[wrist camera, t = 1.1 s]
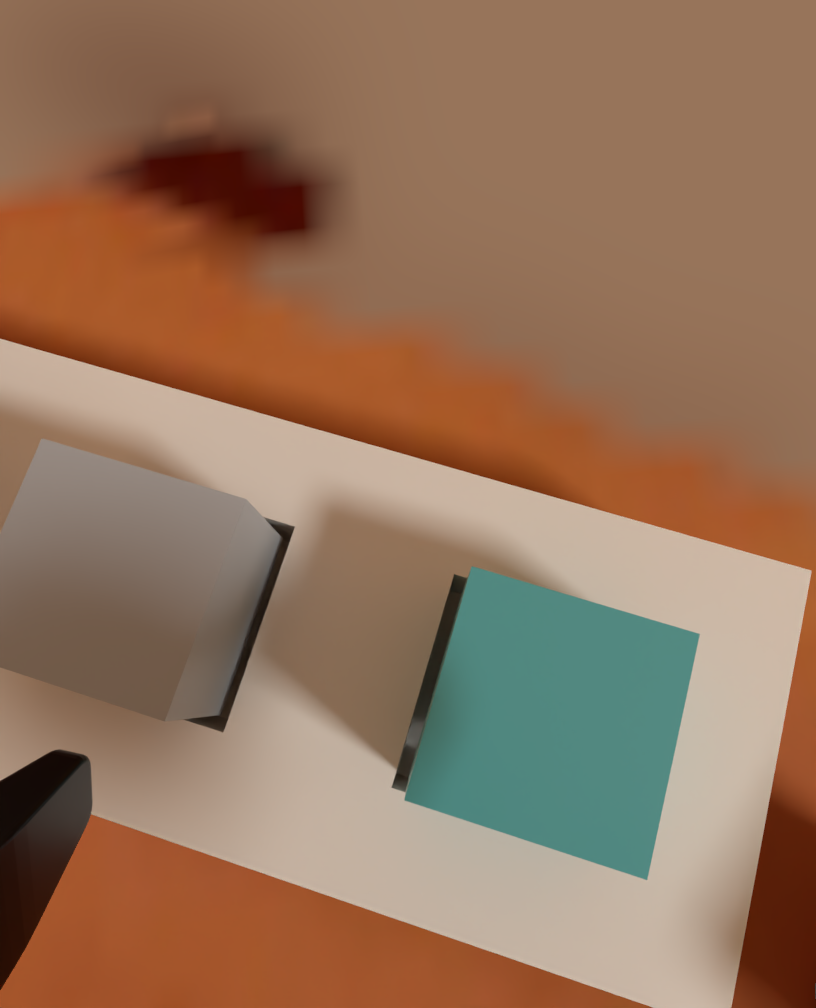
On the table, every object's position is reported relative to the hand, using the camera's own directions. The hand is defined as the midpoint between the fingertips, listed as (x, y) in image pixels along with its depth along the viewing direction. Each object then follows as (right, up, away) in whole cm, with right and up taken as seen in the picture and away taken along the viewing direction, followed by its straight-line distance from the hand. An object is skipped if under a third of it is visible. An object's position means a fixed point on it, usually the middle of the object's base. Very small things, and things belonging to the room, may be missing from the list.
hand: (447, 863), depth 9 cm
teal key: (+2, -1, +9) cm, 9 cm away
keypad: (-6, +1, +15) cm, 16 cm away
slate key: (-6, +2, +10) cm, 12 cm away
